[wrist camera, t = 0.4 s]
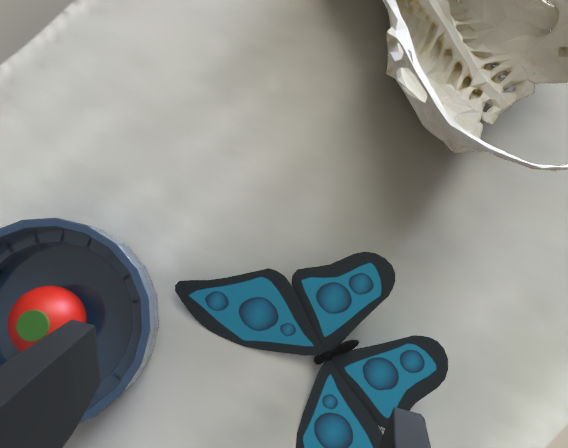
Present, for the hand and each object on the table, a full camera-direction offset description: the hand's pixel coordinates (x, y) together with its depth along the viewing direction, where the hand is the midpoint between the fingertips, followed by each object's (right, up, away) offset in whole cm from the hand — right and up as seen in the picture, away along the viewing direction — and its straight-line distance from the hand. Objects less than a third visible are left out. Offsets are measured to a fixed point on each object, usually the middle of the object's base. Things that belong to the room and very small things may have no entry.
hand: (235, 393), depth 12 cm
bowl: (-15, -3, +26) cm, 31 cm away
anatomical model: (+15, +19, +31) cm, 39 cm away
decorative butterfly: (+4, -6, +28) cm, 29 cm away
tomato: (-15, -3, +26) cm, 30 cm away
